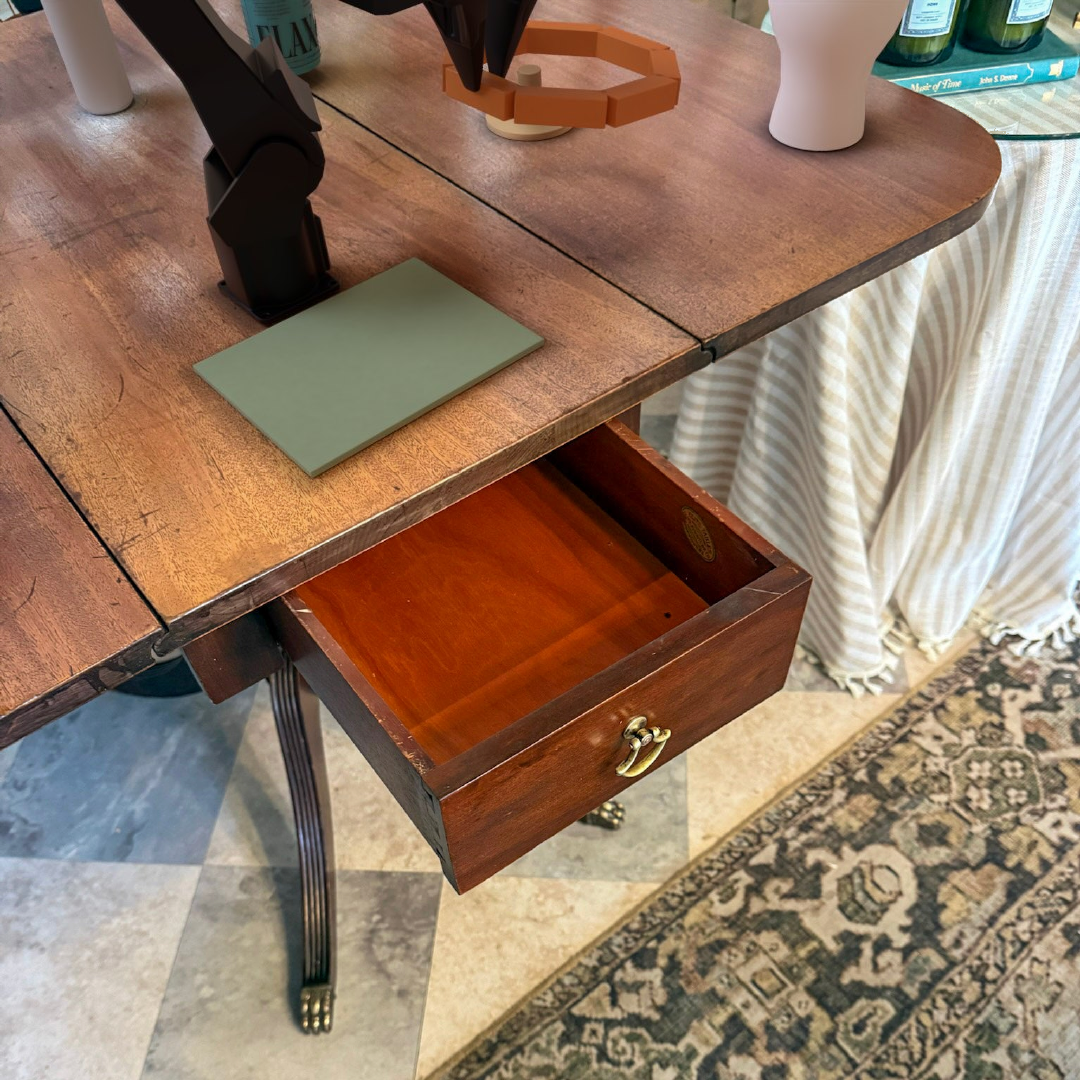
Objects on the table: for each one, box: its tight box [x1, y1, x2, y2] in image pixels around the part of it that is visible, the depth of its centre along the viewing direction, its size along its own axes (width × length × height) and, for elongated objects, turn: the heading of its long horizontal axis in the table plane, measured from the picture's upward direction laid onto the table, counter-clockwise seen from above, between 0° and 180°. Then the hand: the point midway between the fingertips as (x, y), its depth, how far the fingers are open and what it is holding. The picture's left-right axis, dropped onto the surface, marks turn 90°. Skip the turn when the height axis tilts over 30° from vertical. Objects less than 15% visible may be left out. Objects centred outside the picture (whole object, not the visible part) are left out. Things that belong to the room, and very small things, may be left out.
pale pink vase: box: [767, 0, 911, 152], centre depth 78 cm, size 11×11×15 cm
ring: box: [441, 19, 682, 130], centre depth 69 cm, size 16×16×2 cm
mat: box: [192, 256, 545, 479], centre depth 65 cm, size 18×14×1 cm
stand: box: [484, 64, 573, 142], centre depth 86 cm, size 8×8×4 cm
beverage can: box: [40, 0, 134, 116], centre depth 89 cm, size 5×5×12 cm
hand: (484, 84), depth 65 cm, fingers closed on ring, 2 cm apart
